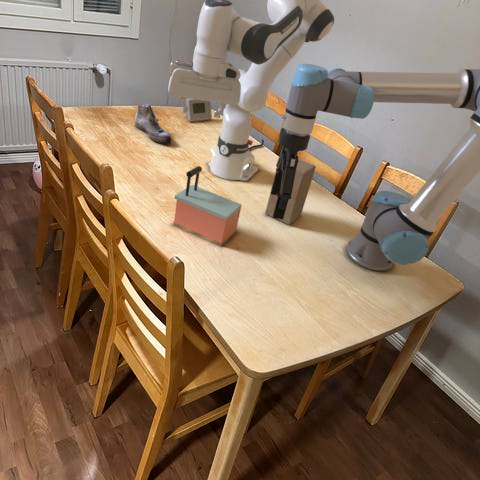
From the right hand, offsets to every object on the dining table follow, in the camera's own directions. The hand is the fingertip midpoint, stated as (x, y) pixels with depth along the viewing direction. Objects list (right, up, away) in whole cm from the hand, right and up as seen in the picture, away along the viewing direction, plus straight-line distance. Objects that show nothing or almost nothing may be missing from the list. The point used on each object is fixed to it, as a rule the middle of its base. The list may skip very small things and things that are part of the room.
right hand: (276, 205), depth 120 cm
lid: (-20, +2, +15) cm, 25 cm away
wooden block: (+5, -1, +37) cm, 38 cm away
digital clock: (-32, +53, +107) cm, 123 cm away
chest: (-21, -6, +20) cm, 30 cm away
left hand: (-21, +27, +7) cm, 35 cm away
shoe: (-49, +38, +78) cm, 99 cm away
